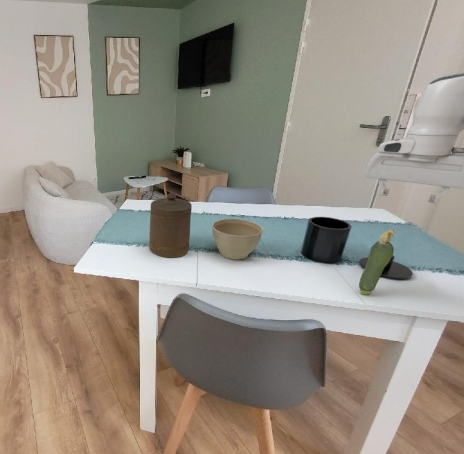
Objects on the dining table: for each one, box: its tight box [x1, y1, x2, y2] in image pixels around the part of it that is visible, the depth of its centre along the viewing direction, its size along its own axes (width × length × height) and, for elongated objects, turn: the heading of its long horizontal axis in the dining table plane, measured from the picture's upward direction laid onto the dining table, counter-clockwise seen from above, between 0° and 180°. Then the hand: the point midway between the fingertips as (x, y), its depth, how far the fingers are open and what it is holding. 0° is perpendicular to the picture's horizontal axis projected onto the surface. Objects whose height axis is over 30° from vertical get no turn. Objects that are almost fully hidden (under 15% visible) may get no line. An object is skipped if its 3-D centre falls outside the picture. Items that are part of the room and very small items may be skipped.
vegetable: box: [358, 229, 395, 295], centre depth 78 cm, size 4×4×20 cm
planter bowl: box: [211, 218, 264, 261], centre depth 104 cm, size 16×16×11 cm
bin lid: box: [358, 254, 414, 280], centre depth 91 cm, size 12×12×5 cm
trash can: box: [300, 216, 352, 265], centre depth 99 cm, size 11×11×12 cm
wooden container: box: [149, 192, 193, 258], centre depth 108 cm, size 15×15×22 cm
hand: (406, 198), depth 78 cm, fingers open, 8 cm apart
